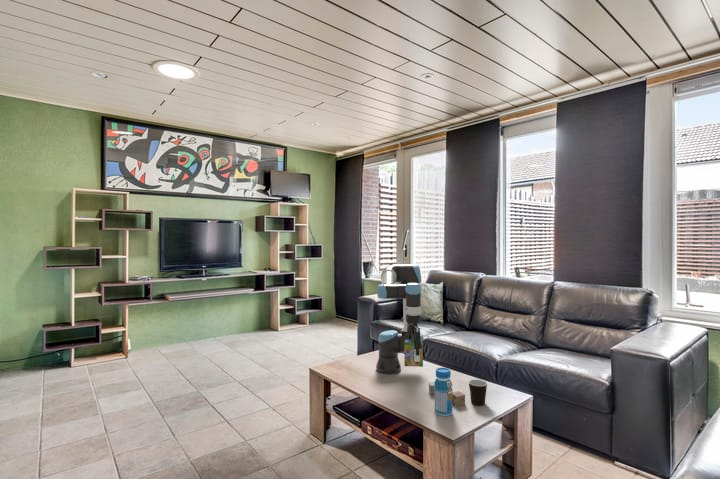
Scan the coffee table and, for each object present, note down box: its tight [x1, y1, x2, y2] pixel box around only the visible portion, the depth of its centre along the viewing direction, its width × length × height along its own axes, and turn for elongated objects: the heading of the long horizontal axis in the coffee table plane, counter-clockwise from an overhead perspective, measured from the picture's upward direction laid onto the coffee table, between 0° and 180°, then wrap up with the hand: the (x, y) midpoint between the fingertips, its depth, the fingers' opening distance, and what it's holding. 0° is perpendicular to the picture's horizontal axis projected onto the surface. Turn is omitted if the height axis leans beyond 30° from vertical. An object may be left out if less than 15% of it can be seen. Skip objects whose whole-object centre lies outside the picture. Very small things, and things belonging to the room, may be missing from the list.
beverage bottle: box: [434, 367, 454, 417], centre depth 180 cm, size 8×8×20 cm
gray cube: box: [428, 381, 435, 396], centre depth 202 cm, size 5×5×5 cm
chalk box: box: [403, 334, 424, 368], centre depth 195 cm, size 9×9×15 cm
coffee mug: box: [468, 379, 488, 407], centre depth 191 cm, size 12×9×10 cm
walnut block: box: [452, 390, 466, 408], centre depth 189 cm, size 5×5×5 cm
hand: (413, 357), depth 195 cm, fingers closed on chalk box, 11 cm apart
